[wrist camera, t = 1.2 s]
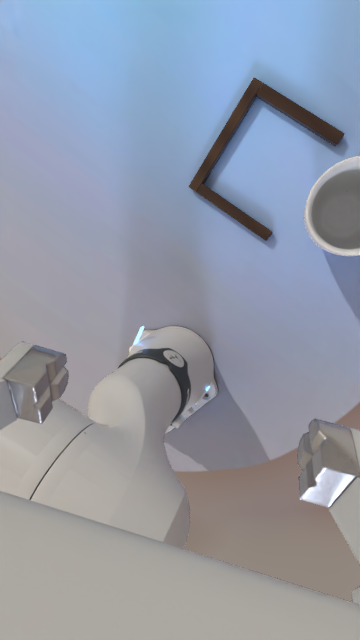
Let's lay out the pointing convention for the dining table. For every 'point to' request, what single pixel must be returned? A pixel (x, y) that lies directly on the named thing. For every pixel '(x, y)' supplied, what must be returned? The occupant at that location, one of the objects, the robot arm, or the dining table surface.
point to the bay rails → (230, 128)
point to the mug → (336, 209)
